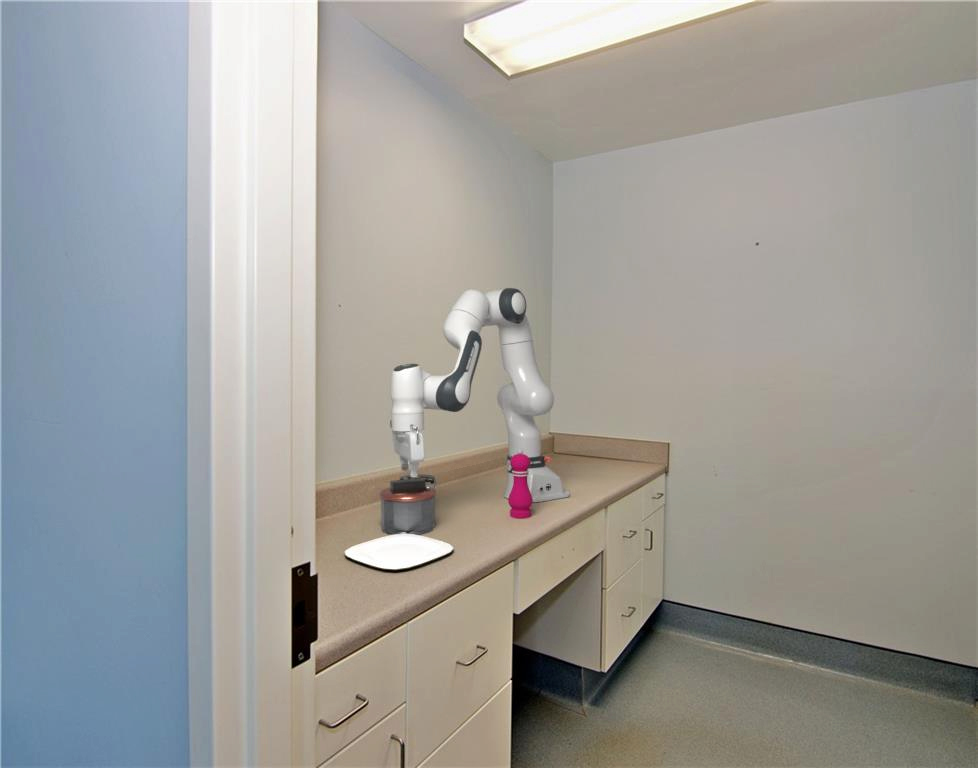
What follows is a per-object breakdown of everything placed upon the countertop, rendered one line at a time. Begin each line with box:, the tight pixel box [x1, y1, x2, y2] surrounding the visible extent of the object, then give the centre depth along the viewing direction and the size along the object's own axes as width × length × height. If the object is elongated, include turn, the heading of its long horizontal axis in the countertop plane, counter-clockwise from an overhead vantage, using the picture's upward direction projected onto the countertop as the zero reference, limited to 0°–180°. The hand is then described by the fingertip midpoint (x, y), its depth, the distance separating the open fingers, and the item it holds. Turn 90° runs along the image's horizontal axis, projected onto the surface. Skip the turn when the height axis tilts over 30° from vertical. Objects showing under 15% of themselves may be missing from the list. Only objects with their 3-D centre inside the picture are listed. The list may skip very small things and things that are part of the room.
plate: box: [343, 534, 455, 571], centre depth 131 cm, size 22×22×2 cm
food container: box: [398, 473, 438, 489], centre depth 176 cm, size 12×6×10 cm, turn 84°
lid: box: [379, 478, 437, 502], centre depth 152 cm, size 15×15×4 cm
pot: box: [380, 496, 436, 536], centre depth 156 cm, size 14×22×9 cm, turn 22°
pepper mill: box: [507, 449, 534, 519], centre depth 165 cm, size 7×7×20 cm
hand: (409, 473), depth 152 cm, fingers open, 8 cm apart
